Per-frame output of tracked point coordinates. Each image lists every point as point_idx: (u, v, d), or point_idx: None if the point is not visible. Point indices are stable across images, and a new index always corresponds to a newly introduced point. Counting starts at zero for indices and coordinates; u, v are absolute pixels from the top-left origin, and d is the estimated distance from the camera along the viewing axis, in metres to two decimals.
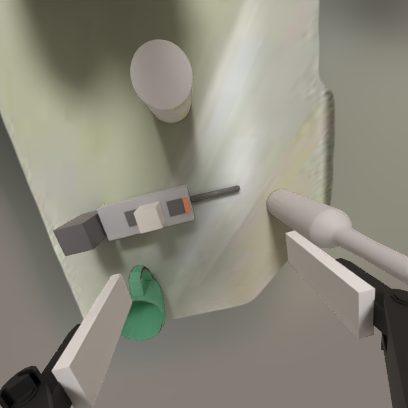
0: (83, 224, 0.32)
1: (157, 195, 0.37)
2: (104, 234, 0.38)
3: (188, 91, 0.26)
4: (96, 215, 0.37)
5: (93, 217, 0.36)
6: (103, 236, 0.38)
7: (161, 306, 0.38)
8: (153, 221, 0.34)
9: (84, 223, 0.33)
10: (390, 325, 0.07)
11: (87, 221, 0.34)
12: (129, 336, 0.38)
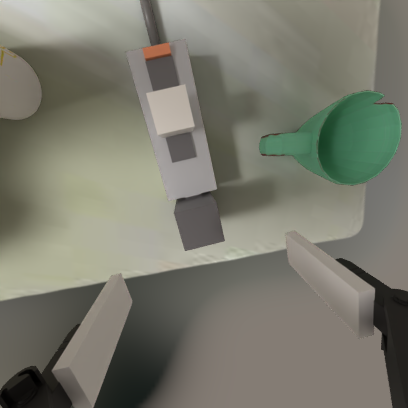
0: (176, 211, 0.22)
1: (143, 106, 0.23)
2: (207, 194, 0.27)
3: None
4: (177, 201, 0.27)
5: (177, 203, 0.25)
6: (208, 195, 0.26)
7: None
8: (173, 99, 0.19)
9: (176, 211, 0.22)
10: (390, 325, 0.07)
11: (176, 208, 0.23)
12: (385, 163, 0.22)
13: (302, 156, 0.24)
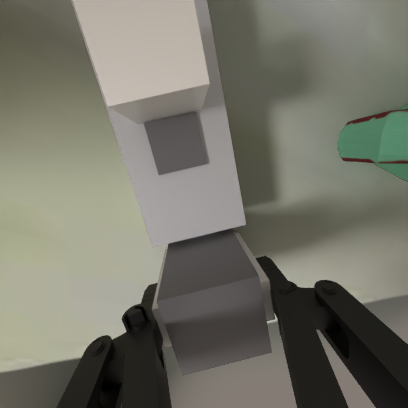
0: (162, 296, 0.09)
1: None
2: (226, 234, 0.14)
3: None
4: (170, 248, 0.14)
5: (169, 257, 0.13)
6: (230, 237, 0.13)
7: None
8: None
9: (162, 291, 0.10)
10: (280, 314, 0.08)
11: (165, 278, 0.10)
12: None
13: None
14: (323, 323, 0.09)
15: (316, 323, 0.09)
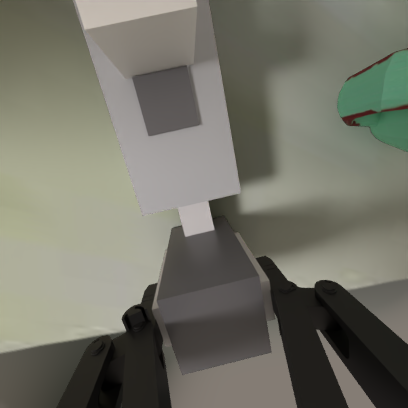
0: (162, 295, 0.09)
1: None
2: (226, 234, 0.14)
3: None
4: (170, 247, 0.14)
5: (169, 256, 0.13)
6: (230, 237, 0.13)
7: None
8: None
9: (162, 290, 0.10)
10: (280, 314, 0.08)
11: (165, 277, 0.10)
12: None
13: None
14: (323, 323, 0.09)
15: (316, 323, 0.09)
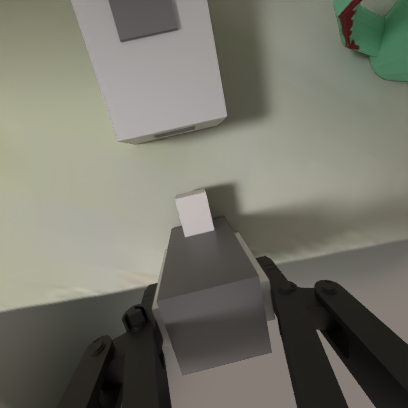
0: (162, 296, 0.09)
1: None
2: (226, 234, 0.14)
3: None
4: (170, 248, 0.14)
5: (169, 257, 0.13)
6: (230, 237, 0.13)
7: None
8: None
9: (162, 291, 0.10)
10: (280, 314, 0.08)
11: (165, 278, 0.11)
12: None
13: None
14: (323, 323, 0.09)
15: (316, 323, 0.09)
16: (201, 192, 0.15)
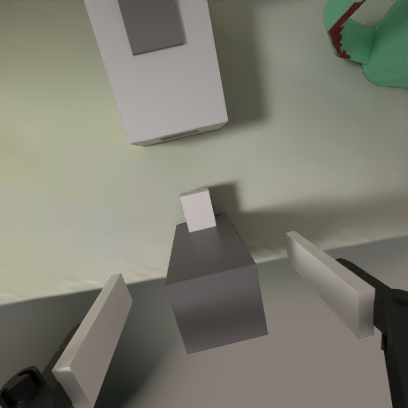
0: (170, 281, 0.10)
1: None
2: (227, 229, 0.15)
3: None
4: (176, 242, 0.15)
5: (174, 249, 0.14)
6: (231, 232, 0.15)
7: None
8: None
9: (170, 277, 0.11)
10: (390, 325, 0.07)
11: (172, 267, 0.12)
12: None
13: None
14: None
15: None
16: (204, 190, 0.16)
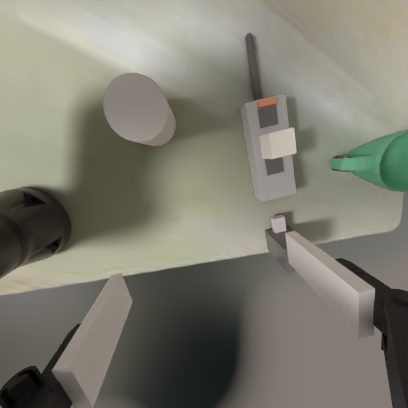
0: (284, 248, 0.34)
1: (252, 138, 0.34)
2: None
3: (147, 78, 0.24)
4: (273, 237, 0.39)
5: (275, 239, 0.38)
6: None
7: (396, 133, 0.30)
8: (285, 136, 0.30)
9: (283, 247, 0.35)
10: (390, 325, 0.07)
11: (280, 244, 0.36)
12: None
13: (362, 170, 0.34)
14: None
15: None
16: (282, 216, 0.40)
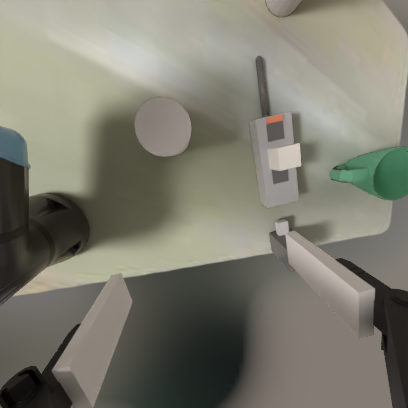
0: None
1: (261, 150, 0.37)
2: None
3: (174, 101, 0.27)
4: (277, 239, 0.43)
5: (280, 242, 0.41)
6: None
7: (387, 150, 0.34)
8: (291, 151, 0.33)
9: None
10: (390, 325, 0.07)
11: (285, 246, 0.39)
12: None
13: None
14: None
15: None
16: (286, 221, 0.43)
